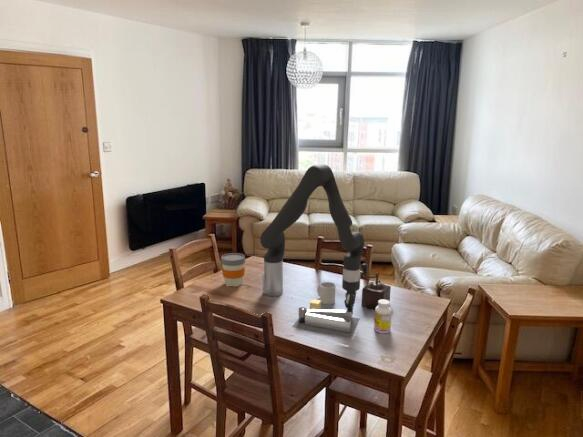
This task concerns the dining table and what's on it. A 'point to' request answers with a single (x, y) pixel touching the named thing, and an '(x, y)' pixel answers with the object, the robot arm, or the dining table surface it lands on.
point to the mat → (328, 331)
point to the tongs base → (323, 321)
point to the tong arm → (333, 313)
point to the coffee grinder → (373, 291)
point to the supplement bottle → (383, 316)
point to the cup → (327, 292)
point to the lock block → (315, 304)
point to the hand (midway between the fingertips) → (349, 315)
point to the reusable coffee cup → (233, 268)
